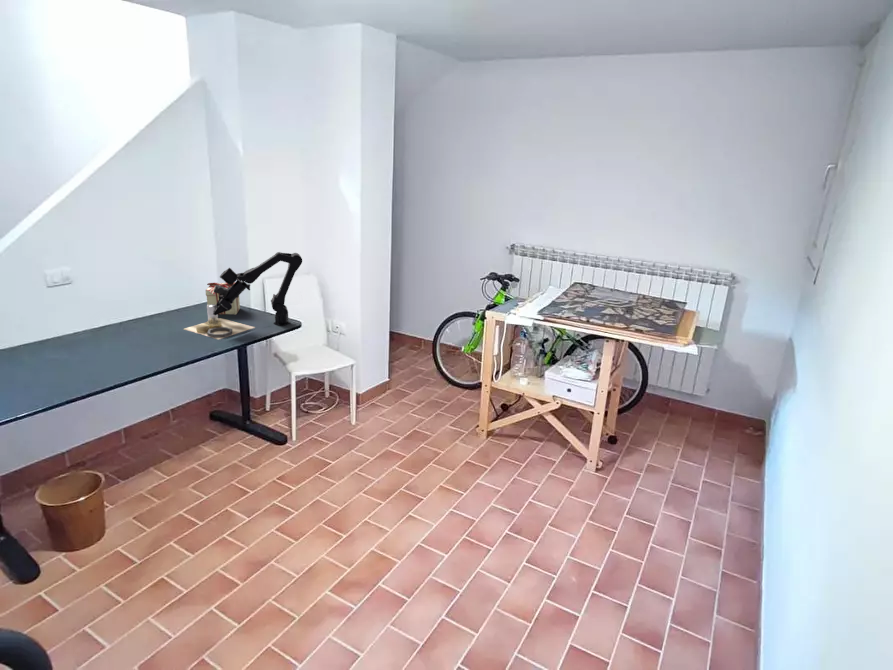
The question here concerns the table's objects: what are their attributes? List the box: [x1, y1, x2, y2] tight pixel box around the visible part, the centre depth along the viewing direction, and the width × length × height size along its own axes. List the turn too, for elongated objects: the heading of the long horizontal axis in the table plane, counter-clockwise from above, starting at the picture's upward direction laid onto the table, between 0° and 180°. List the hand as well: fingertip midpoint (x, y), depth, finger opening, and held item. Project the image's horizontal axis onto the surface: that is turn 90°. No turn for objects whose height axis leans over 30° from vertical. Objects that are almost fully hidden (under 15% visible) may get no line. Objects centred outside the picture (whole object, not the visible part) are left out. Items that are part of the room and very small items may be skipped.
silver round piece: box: [204, 304, 222, 328], centre depth 285 cm, size 8×8×11 cm
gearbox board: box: [184, 317, 256, 342], centre depth 284 cm, size 23×26×4 cm
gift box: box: [205, 281, 241, 316], centre depth 309 cm, size 17×18×17 cm
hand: (214, 312), depth 284 cm, fingers open, 9 cm apart
